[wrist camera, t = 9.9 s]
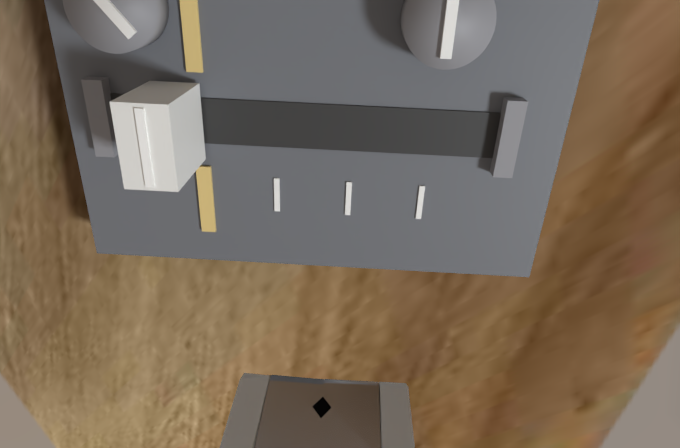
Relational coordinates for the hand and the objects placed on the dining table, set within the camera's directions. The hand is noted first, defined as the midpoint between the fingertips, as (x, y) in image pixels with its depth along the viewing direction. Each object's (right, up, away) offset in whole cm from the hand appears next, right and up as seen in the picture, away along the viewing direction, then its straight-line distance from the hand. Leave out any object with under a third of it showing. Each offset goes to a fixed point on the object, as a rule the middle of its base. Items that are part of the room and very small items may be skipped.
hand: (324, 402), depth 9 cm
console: (-1, +10, +20) cm, 22 cm away
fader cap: (-8, +9, +17) cm, 20 cm away
